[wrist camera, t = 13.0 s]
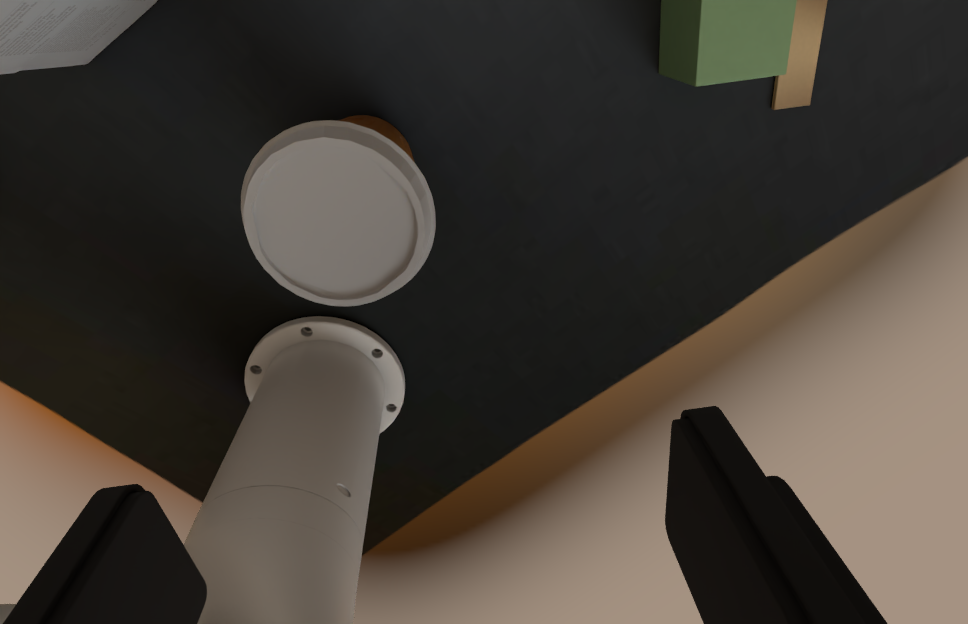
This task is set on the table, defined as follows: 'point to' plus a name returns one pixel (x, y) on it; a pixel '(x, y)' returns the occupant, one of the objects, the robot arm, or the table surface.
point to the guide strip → (801, 56)
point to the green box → (724, 39)
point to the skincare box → (61, 30)
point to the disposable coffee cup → (338, 210)
